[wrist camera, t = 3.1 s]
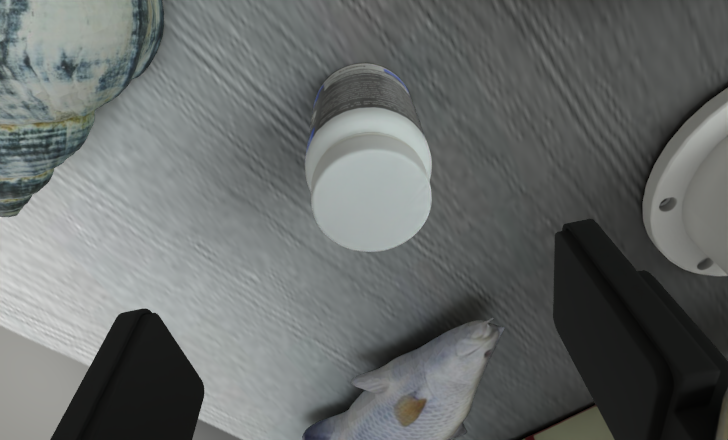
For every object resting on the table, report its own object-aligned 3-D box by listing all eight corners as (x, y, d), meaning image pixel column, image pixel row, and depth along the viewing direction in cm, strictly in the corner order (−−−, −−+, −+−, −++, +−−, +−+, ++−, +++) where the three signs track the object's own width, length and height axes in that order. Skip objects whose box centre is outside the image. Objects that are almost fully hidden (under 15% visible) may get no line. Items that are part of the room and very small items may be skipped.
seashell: (205, -28, 20) (50, 140, 24) (8, -211, 14) (-155, 49, 18) (224, 54, 16) (37, 237, 20) (-31, -150, 11) (-225, 160, 14)
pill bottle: (296, 84, 21) (271, 169, 14) (393, 44, 20) (418, 113, 13) (337, 170, 24) (333, 278, 17) (424, 137, 23) (460, 236, 16)
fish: (267, 439, 39) (364, 485, 41) (252, 489, 35) (359, 536, 37) (443, 264, 27) (564, 340, 30) (447, 311, 24) (584, 393, 26)
